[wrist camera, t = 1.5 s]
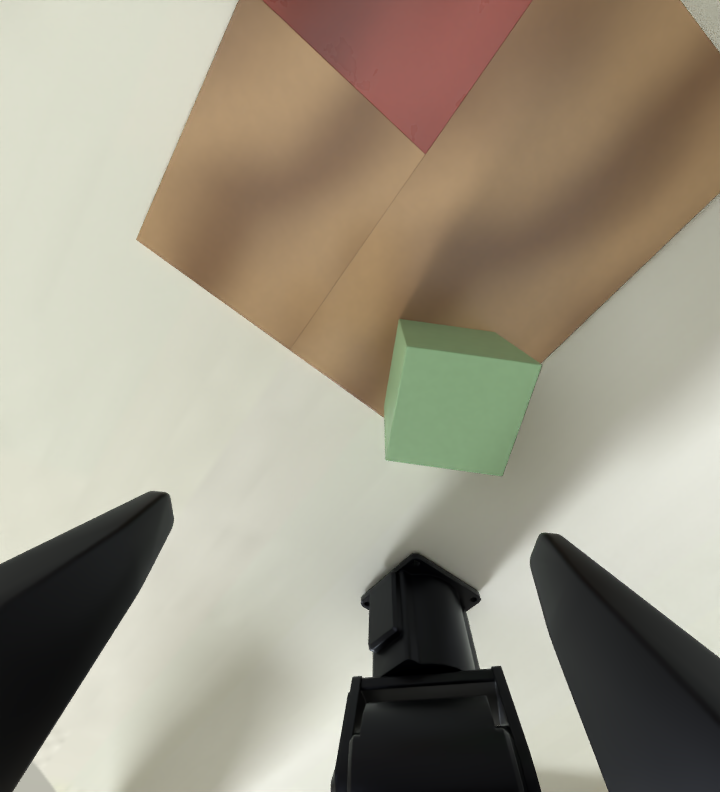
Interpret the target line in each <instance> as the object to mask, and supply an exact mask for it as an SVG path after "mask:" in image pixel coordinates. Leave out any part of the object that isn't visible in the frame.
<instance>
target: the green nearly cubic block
mask: <svg viewBox="0 0 720 792" xmlns="http://www.w3.org/2000/svg"><path fill="white" fill-rule="evenodd" d="M541 367H542V364H540V363H539V362H537V361H536V360H535V359H533V358H532V357H530V356H529V355H527V354H526V353H524V352H523V351H521V350H520V349H519V348H517V347H516V346H514V345H513V344H511V343H510V342H508V341H507V340H506V339H504V338H503V337H501V336H500V335H498V334H497V333H495V332H491V331H483V330H476V329H469V328H462V327H454V326H447V325H440V324H433V323H425V322H418V321H411V320H404V319H399V321H398V327H397V333H396V339H395V344H394V350H393V356H392V362H391V368H390V374H389V380H388V385H387V391H386V397H385V403H384V424H385V459H386V460H388V461H395V462H402V463H409V464H416V465H424V466H431V467H438V468H445V469H452V470H460V471H467V472H474V473H481V474H489V475H496V476H503V473H504V470H505V468H506V465H507V462H508V459H509V456H510V454H511V451H512V448H513V445H514V443H515V440H516V437H517V434H518V431H519V429H520V426H521V423H522V420H523V417H524V415H525V412H526V409H527V406H528V404H529V401H530V398H531V395H532V392H533V390H534V387H535V384H536V381H537V378H538V376H539V373H540V370H541Z"/></svg>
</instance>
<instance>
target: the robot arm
mask: <svg viewBox="0 0 720 792" xmlns="http://www.w3.org/2000/svg"><path fill="white" fill-rule="evenodd" d="M173 523H174V516H173V510H172V504H171V498H170V495H169V494H168V493H166V492H158V491H150V492H147V493H145V494H143V495H141V496H139V497H137V498H135V499H133V500H131V501H129V502H127V503H125V504H123V505H120V506H118V507H116V508H114V509H112V510H110V511H108V512H106V513H104V514H102V515H100V516H98V517H96V518H94V519H92V520H90V521H88V522H86V523H84V524H82V525H79V526H77V527H75V528H73V529H71V530H69V531H67V532H65V533H63V534H61V535H59V536H57V537H55V538H53V539H51V540H49V541H47V542H45V543H43V544H40V545H38V546H36V547H34V548H32V549H30V550H28V551H26V552H24V553H22V554H20V555H18V556H16V557H14V558H12V559H10V560H8V561H6V562H4V563H1V564H0V792H13V790H14V789H15V787H16V786H17V784H18V782H19V781H20V779H21V778H22V776H23V775H24V773H25V771H26V770H27V768H28V767H29V765H30V764H31V762H32V760H33V759H34V757H35V756H36V754H37V752H38V751H39V749H40V748H41V746H42V745H43V743H44V741H45V740H46V738H47V737H48V735H49V734H50V732H51V730H52V729H53V727H54V726H55V724H56V722H57V721H58V719H59V718H60V716H61V715H62V713H63V711H64V710H65V708H66V707H67V705H68V704H69V702H70V700H71V699H72V697H73V696H74V694H75V693H76V691H77V689H78V688H79V686H80V685H81V683H82V681H83V680H84V678H85V677H86V675H87V674H88V672H89V670H90V669H91V667H92V666H93V664H94V663H95V661H96V659H97V658H98V656H99V655H100V653H101V651H102V650H103V648H104V647H105V645H106V644H107V642H108V640H109V639H110V637H111V636H112V634H113V633H114V631H115V629H116V628H117V626H118V625H119V623H120V621H121V620H122V618H123V617H124V615H125V614H126V612H127V610H128V609H129V607H130V606H131V604H132V603H133V601H134V599H135V598H136V596H137V594H138V593H139V591H140V589H141V587H142V586H143V584H144V582H145V580H146V578H147V576H148V574H149V572H150V570H151V568H152V566H153V564H154V563H155V561H156V559H157V557H158V555H159V553H160V551H161V549H162V547H163V545H164V543H165V541H166V539H167V537H168V535H169V533H170V531H171V529H172V526H173ZM530 567H531V571H532V575H533V579H534V582H535V586H536V589H537V593H538V597H539V600H540V604H541V607H542V611H543V615H544V618H545V622H546V625H547V629H548V632H549V635H550V638H551V641H552V644H553V647H554V649H555V652H556V655H557V657H558V660H559V662H560V665H561V668H562V670H563V673H564V676H565V678H566V681H567V683H568V686H569V689H570V691H571V694H572V697H573V699H574V702H575V704H576V707H577V710H578V712H579V715H580V718H581V720H582V723H583V726H584V728H585V731H586V733H587V736H588V739H589V741H590V744H591V747H592V749H593V752H594V754H595V757H596V760H597V762H598V765H599V768H600V770H601V773H602V775H603V778H604V781H605V783H606V786H607V789H608V791H609V792H720V658H719V657H718V656H717V655H715V654H714V653H713V652H711V651H710V650H709V649H707V648H706V647H705V646H704V645H702V644H701V643H700V642H698V641H697V640H696V639H695V638H693V637H692V636H691V635H689V634H688V633H687V632H685V631H684V630H683V629H682V628H680V627H679V626H678V625H676V624H675V623H674V622H673V621H671V620H670V619H669V618H667V617H666V616H665V615H663V614H662V613H661V612H660V611H658V610H657V609H656V608H654V607H653V606H652V605H651V604H649V603H648V602H647V601H645V600H644V599H643V598H641V597H640V596H639V595H638V594H636V593H635V592H634V591H632V590H631V589H630V588H629V587H627V586H626V585H625V584H623V583H622V582H621V581H619V580H618V579H617V578H616V577H614V576H613V575H612V574H610V573H609V572H608V571H606V570H605V569H604V568H603V567H601V566H600V565H599V564H597V563H596V562H595V561H594V560H592V559H591V558H590V557H588V556H587V555H586V554H584V553H583V552H582V551H581V550H579V549H578V548H577V547H575V546H574V545H573V544H572V543H570V542H569V541H568V540H566V539H565V538H564V537H562V536H561V535H559V534H553V533H541V534H540V535H539V536H538V538H537V541H536V544H535V546H534V549H533V552H532V554H531V557H530ZM480 600H481V598H480V595H479V592H478V591H477V590H475V589H474V588H472V587H470V586H469V585H467V584H466V583H464V582H462V581H461V580H459V579H458V578H456V577H455V576H453V575H451V574H450V573H448V572H447V571H445V570H444V569H442V568H440V567H439V566H437V565H436V564H434V563H432V562H431V561H429V560H428V559H426V558H425V557H423V556H421V555H420V554H412V555H410V556H409V557H408V558H406V559H405V560H404V561H403V562H402V563H400V564H399V565H398V566H397V567H396V568H395V569H393V570H392V571H391V572H390V573H389V574H388V575H386V576H385V577H384V578H383V579H382V580H380V581H379V582H378V583H377V584H376V585H375V586H373V587H372V588H371V589H370V590H369V591H368V592H366V593H365V594H364V595H363V596H362V597H361V605H362V606H363V607H364V608H366V609H368V610H369V640H368V645H369V650H370V651H372V652H373V677H368V678H362V676H355V677H353V678H352V683H351V689H350V692H349V693H348V697H347V703H346V709H345V714H344V720H343V726H342V732H341V737H340V743H339V749H338V755H337V761H336V766H335V770H334V773H333V777H332V780H331V792H541V789H540V785H539V781H538V778H537V774H536V771H535V767H534V764H533V761H532V757H531V754H530V751H529V748H528V745H527V742H526V739H525V736H524V733H523V730H522V727H521V724H520V721H519V718H518V715H517V712H516V709H515V706H514V703H513V700H512V697H511V694H510V691H509V688H508V685H507V682H506V679H505V677H504V674H503V671H502V668H501V666H493V667H491V669H480V668H479V663H478V659H477V655H476V651H475V647H474V643H473V638H472V634H471V630H470V626H469V622H468V618H467V613H466V611H468V610H469V609H470V608H472V607H473V606H475V605H476V604H478V603H479V602H480Z"/></svg>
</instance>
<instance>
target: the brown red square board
mask: <svg viewBox="0 0 720 792" xmlns="http://www.w3.org/2000/svg"><path fill="white" fill-rule="evenodd" d="M719 193H720V52H719V51H718V50H717V48H716V47H715V46H714V44H713V43H712V42H711V40H710V39H709V38H708V36H707V35H706V34H705V33H704V31H703V30H702V29H701V27H700V26H699V25H698V23H697V22H696V21H695V19H694V18H693V17H692V15H691V14H690V13H689V11H688V10H687V9H686V7H685V6H684V5H683V3H682V2H681V1H680V0H239V1H238V3H237V5H236V8H235V10H234V12H233V15H232V17H231V19H230V22H229V24H228V26H227V29H226V31H225V33H224V36H223V38H222V40H221V43H220V45H219V47H218V50H217V52H216V54H215V57H214V59H213V61H212V64H211V66H210V68H209V71H208V73H207V75H206V78H205V80H204V83H203V85H202V87H201V90H200V92H199V94H198V97H197V99H196V101H195V104H194V106H193V108H192V111H191V113H190V115H189V118H188V120H187V122H186V125H185V127H184V129H183V132H182V134H181V136H180V139H179V141H178V143H177V146H176V148H175V150H174V153H173V155H172V157H171V160H170V162H169V164H168V167H167V169H166V171H165V174H164V176H163V178H162V181H161V183H160V185H159V188H158V190H157V192H156V195H155V197H154V199H153V202H152V204H151V206H150V209H149V211H148V213H147V216H146V218H145V220H144V223H143V225H142V227H141V230H140V232H139V234H138V237H137V239H136V240H137V241H139V242H140V243H142V244H143V245H144V246H146V247H147V248H148V249H150V250H151V251H153V252H154V253H155V254H157V255H158V256H160V257H161V258H162V259H164V260H165V261H167V262H168V263H169V264H171V265H172V266H174V267H175V268H176V269H178V270H179V271H180V272H182V273H183V274H185V275H186V276H187V277H189V278H190V279H192V280H193V281H194V282H196V283H197V284H199V285H200V286H201V287H203V288H204V289H206V290H207V291H208V292H210V293H211V294H212V295H214V296H215V297H217V298H218V299H219V300H221V301H222V302H224V303H225V304H226V305H228V306H229V307H231V308H232V309H233V310H235V311H236V312H238V313H239V314H240V315H242V316H243V317H244V318H246V319H247V320H249V321H250V322H251V323H253V324H254V325H256V326H257V327H258V328H260V329H261V330H263V331H264V332H265V333H267V334H268V335H270V336H271V337H272V338H274V339H275V340H276V341H278V342H279V343H281V344H282V345H283V346H285V347H286V348H288V349H289V350H290V351H292V352H293V353H295V354H296V355H297V356H299V357H300V358H302V359H303V360H304V361H306V362H307V363H308V364H310V365H311V366H313V367H314V368H315V369H317V370H318V371H320V372H321V373H322V374H324V375H325V376H327V377H328V378H329V379H331V380H332V381H334V382H335V383H336V384H338V385H339V386H340V387H342V388H343V389H345V390H346V391H347V392H349V393H350V394H352V395H353V396H354V397H356V398H357V399H359V400H360V401H361V402H363V403H364V404H366V405H367V406H368V407H370V408H371V409H372V410H374V411H375V412H377V413H378V414H379V415H381V416H382V417H384V403H385V397H386V391H387V385H388V380H389V374H390V368H391V362H392V356H393V350H394V344H395V339H396V333H397V327H398V321H399V319H404V320H411V321H418V322H425V323H433V324H440V325H447V326H454V327H462V328H469V329H476V330H483V331H491V332H495V333H497V334H498V335H500V336H501V337H503V338H504V339H506V340H507V341H508V342H510V343H511V344H513V345H514V346H516V347H517V348H519V349H520V350H521V351H523V352H524V353H526V354H527V355H529V356H530V357H532V358H533V359H535V360H536V361H537V362H539V363H540V364H541V363H542V362H543V361H544V360H545V359H546V358H547V357H548V356H549V355H550V354H551V353H552V352H553V351H554V350H555V349H556V348H558V347H559V346H560V345H561V344H562V343H563V342H564V341H565V340H566V339H567V338H568V337H569V336H570V335H571V334H572V333H573V332H574V331H575V330H576V329H577V328H578V327H580V326H581V325H582V324H583V323H584V322H585V321H586V320H587V319H588V318H589V317H590V316H591V315H592V314H593V313H594V312H595V311H596V310H597V309H598V308H599V307H600V306H602V305H603V304H604V303H605V302H606V301H607V300H608V299H609V298H610V297H611V296H612V295H613V294H614V293H615V292H616V291H617V290H618V289H619V288H620V287H621V286H622V285H623V284H625V283H626V282H627V281H628V280H629V279H630V278H631V277H632V276H633V275H634V274H635V273H636V272H637V271H638V270H639V269H640V268H641V267H642V266H643V265H644V264H645V263H647V262H648V261H649V260H650V259H651V258H652V257H653V256H654V255H655V254H656V253H657V252H658V251H659V250H660V249H661V248H662V247H663V246H664V245H665V244H666V243H667V242H669V241H670V240H671V239H672V238H673V237H674V236H675V235H676V234H677V233H678V232H679V231H680V230H681V229H682V228H683V227H684V226H685V225H686V224H687V223H688V222H689V221H690V220H692V219H693V218H694V217H695V216H696V215H697V214H698V213H699V212H700V211H701V210H702V209H703V208H704V207H705V206H706V205H707V204H708V203H709V202H710V201H711V200H712V199H714V198H715V197H716V196H717V195H718V194H719Z"/></svg>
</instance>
